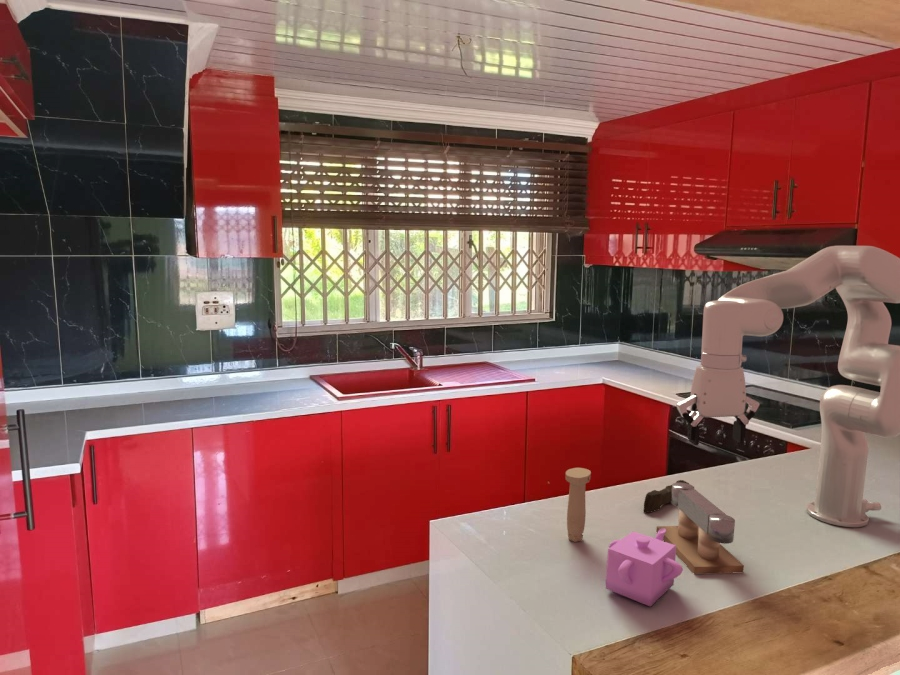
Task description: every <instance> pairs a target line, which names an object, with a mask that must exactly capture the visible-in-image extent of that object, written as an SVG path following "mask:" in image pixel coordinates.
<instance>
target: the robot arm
mask: <svg viewBox="0 0 900 675" xmlns="http://www.w3.org/2000/svg"><path fill="white" fill-rule="evenodd" d="M834 289H835V290H836V292H837V293H838V295H839V297H840V298H841V300H842V302H843V304H844V306H845V309H846V311H847V313H846V314H847V324H846V329H845V333H844V335H843V336H844V337H843V340H842V345H841V349H840V352H839V357H838V361H837V362H838V363H837V369H838V370H837V371H838V372H839V374H840V375H841V376H842V377H843V378H845V379H847V380H851V381H855V382H858V383H864V384H869V385H872V386H873V385H874V386H877V387H880V392H879V391H875V390H870V389H866V388H862V387H857V386H852V385H845V384H836V385H832V386H830V387H828V388H826V389H825V390H824V392H823V393H822V394H821V396H820V400H819V413H820V423H821V437H820V438H821V439H820V440H821V441H820V450H819V456H818V469H817V478H816V487H815V496H814V497H815V498H814V501H813V502H810V503H808V504H807V505H806V512H807V514H808V515H810V516H811V517H812V518H814V519H816V520H818V521H821V522H824V523H826V524H830V525H833V526H838V527H843V528H844V527H845V528H861V527H865V526H867V525H868V524H869V515H868V514H866V513H868V512H869V511H873V512H874V511H876V512H877V511H881V510H882V505H881V503H880V502H877V501H875V502H871V501H870V502H868V500H867V499H865V498H864V494H865V493H864V492H865V484H866V475H867V474H866V473H867V468H868V467H867V466H868V458H869V444H868V440H867V438H866V435H865V433H866V434H869V435H873V436H877V437H881V438H888V439H890V438H895V437H898V436H899V435H900V345H897V344H896V345H895V344H889V338H890V335H891V334H890V333H891V328H892V317H891V314H890V312H889V310H888V308H887V306H886V305H885V303H889V304H900V257H898V256H897V255H896V254H895V255H894V254H893V253H892V252H891V253H890V251H887V250H884V249H882V248H879V247H876V246H872V245H831V246H827V247H825V248H822V249H821V250H818V251H816V253H813V254H812V255H811V256H809V257H807V258H806V259H804V260H802V261H801V262H799V263H797V264H796V265H794V266H792V267H791V268H789V269H786V270H784V271H781V272H780V271H779V272H777V273H773V274H770V275H767V276H764V277H761V278H757V279H753V280H751V281H748V282H745V283H743V284H741V285H739V286H738V285H737V286H736V287H735V288H734V287H733V289H731V290H729V291H728V292H726V293H725V294H723V295H721V297H719V298H718V299H717V300H710V301H707V302H706V303H705V304H704V307H703V315H702V316H703V317H702V336H701V352H700V353H701V354H700V355H701V356H700V366H696V367H695V371H694V375H693V378H692V383H691V389H690V396H689V397H687V398H685V399H682V400H681V401H680V402H678V403H676V409H677V411H678V413H679V416H681V418H682V419H683V420H685V422H686V424H687V435H686V436H687V439H688V442H690V444H692V445H694V446H698V445H700V430H701V429H700V426H698V424H699V423H700V422H701V421H702V420H703V418H721V417H722V418H729V417H730V418H732V417H734V419H735V420H733V426H732V440H733V441H735V442H737V443H739V444H745V442H744V441H745V437H746V427H747V425H749V423H750V421H751V419H752V418H754V416H755V415H756V412H757V410H758V409H759V407H760V402H759V401H757V400H755V399H754V398H753V399H752V398H751V397H750V396H747V391H746V390H747V389H746V387H747V386H746V377H745V371H744V369H743V368H742V363H745V362H747V361H748V360H747V359H748V358H747V355H745V354H743V353H742V352H743V351H742V350H743V337H744V336H752V337H767V336H771V335H773V334H774V333H776V332H777V331H778V330H780V328H781V327H782V325H783V322H784V312H783V310H782V309H793V308H798V307H804V306H808V305H810V304H812V303H814V302H815V301H817V300H819V299H820V298H821V297H823V296H825V295H827V294H828V293H829V292H831V291H833V290H834ZM747 404H748V406H747V409H746V405H747ZM688 408H689V410H690V411H691V412H690V413H688Z"/></svg>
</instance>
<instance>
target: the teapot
mask: <svg viewBox="0 0 900 675" xmlns="http://www.w3.org/2000/svg"><path fill="white" fill-rule="evenodd" d="M665 532H666V529H660V530H659V531H658V533H656V535H655V537H652V536H649V535H646V534H642V533H640V532H636V531H631V532H630V533H628V534H627V535H626V536H624V537H623V538H621V539H615V540H613V541H611V542H610V543H609V546H608V549H607V560H606V576H605V577H606V579H605V589H606V590H607V591H610V592H612V593H616V594H617V595H620V596H622V597H625V598H628V599H630V600H632V601H635V602H638V603H640V604H643V605H645V606H648V607H652V605H654V604H655V603H656V602H657V601H658V600H659V599H660V598H661V597H662V596H663V595H665V593H667V591H669V590H670V588H672V587H673V586H674V585H675V579H677V578H678V577H679V576H680V575H682V573H683V571H684V569H683V566H682V565H681V564H680V563H679V562H678V561H676V558H677V557H676V556H677V555H676V545H673V544H670V543H667V542H664V541H663V537H664V534H665Z"/></svg>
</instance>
